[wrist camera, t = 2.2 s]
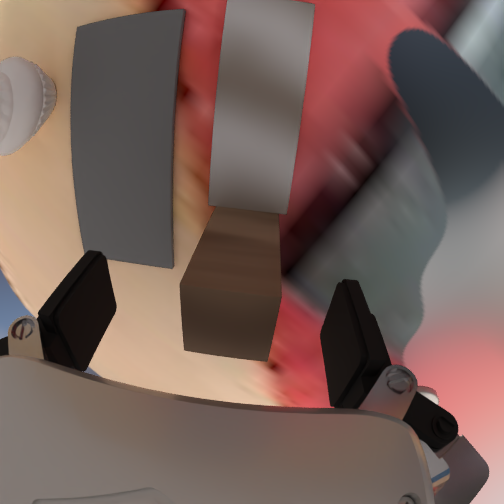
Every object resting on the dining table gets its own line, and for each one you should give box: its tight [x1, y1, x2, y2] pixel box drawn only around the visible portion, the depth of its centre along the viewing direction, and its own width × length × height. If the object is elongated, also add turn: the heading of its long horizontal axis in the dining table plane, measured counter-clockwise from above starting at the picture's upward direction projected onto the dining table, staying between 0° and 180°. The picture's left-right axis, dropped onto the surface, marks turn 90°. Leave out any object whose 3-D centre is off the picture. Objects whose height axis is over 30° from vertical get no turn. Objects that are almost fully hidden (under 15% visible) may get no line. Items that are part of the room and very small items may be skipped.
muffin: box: [0, 57, 57, 156], centre depth 10 cm, size 6×6×7 cm
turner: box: [180, 0, 315, 362], centre depth 11 cm, size 16×4×8 cm, turn 174°
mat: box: [71, 9, 186, 269], centre depth 15 cm, size 16×7×1 cm, turn 174°
